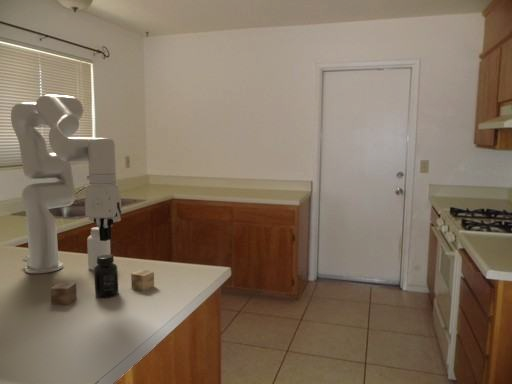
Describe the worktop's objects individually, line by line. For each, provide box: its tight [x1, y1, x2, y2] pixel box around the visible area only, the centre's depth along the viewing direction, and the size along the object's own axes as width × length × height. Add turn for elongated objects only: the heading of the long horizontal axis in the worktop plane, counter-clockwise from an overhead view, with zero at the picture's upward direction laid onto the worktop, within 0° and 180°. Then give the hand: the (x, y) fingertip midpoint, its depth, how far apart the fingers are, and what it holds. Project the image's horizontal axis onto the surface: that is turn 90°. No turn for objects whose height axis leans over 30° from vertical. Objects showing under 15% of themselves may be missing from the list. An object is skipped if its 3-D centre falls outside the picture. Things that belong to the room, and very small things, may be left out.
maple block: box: [130, 269, 155, 292], centre depth 135 cm, size 5×5×5 cm
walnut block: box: [50, 282, 77, 306], centre depth 122 cm, size 5×5×5 cm
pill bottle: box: [86, 226, 112, 271], centre depth 154 cm, size 8×8×15 cm
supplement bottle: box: [93, 254, 119, 299], centre depth 128 cm, size 7×7×12 cm
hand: (105, 239), depth 126 cm, fingers closed
